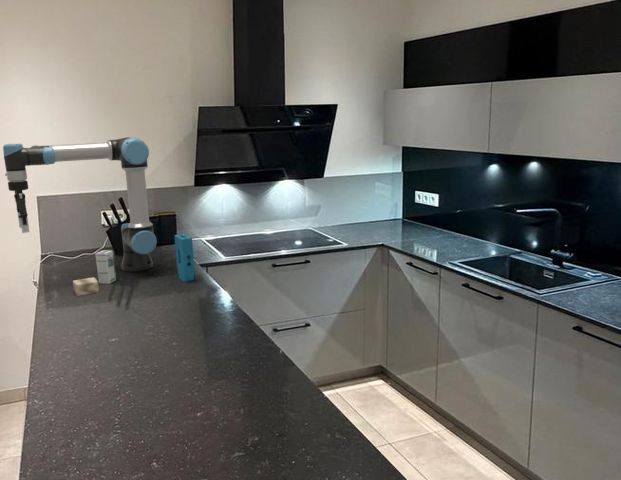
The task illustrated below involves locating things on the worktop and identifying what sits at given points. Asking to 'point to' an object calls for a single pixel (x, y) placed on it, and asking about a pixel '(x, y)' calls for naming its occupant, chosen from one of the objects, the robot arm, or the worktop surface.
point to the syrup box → (105, 266)
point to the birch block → (85, 286)
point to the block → (184, 257)
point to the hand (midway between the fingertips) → (24, 229)
